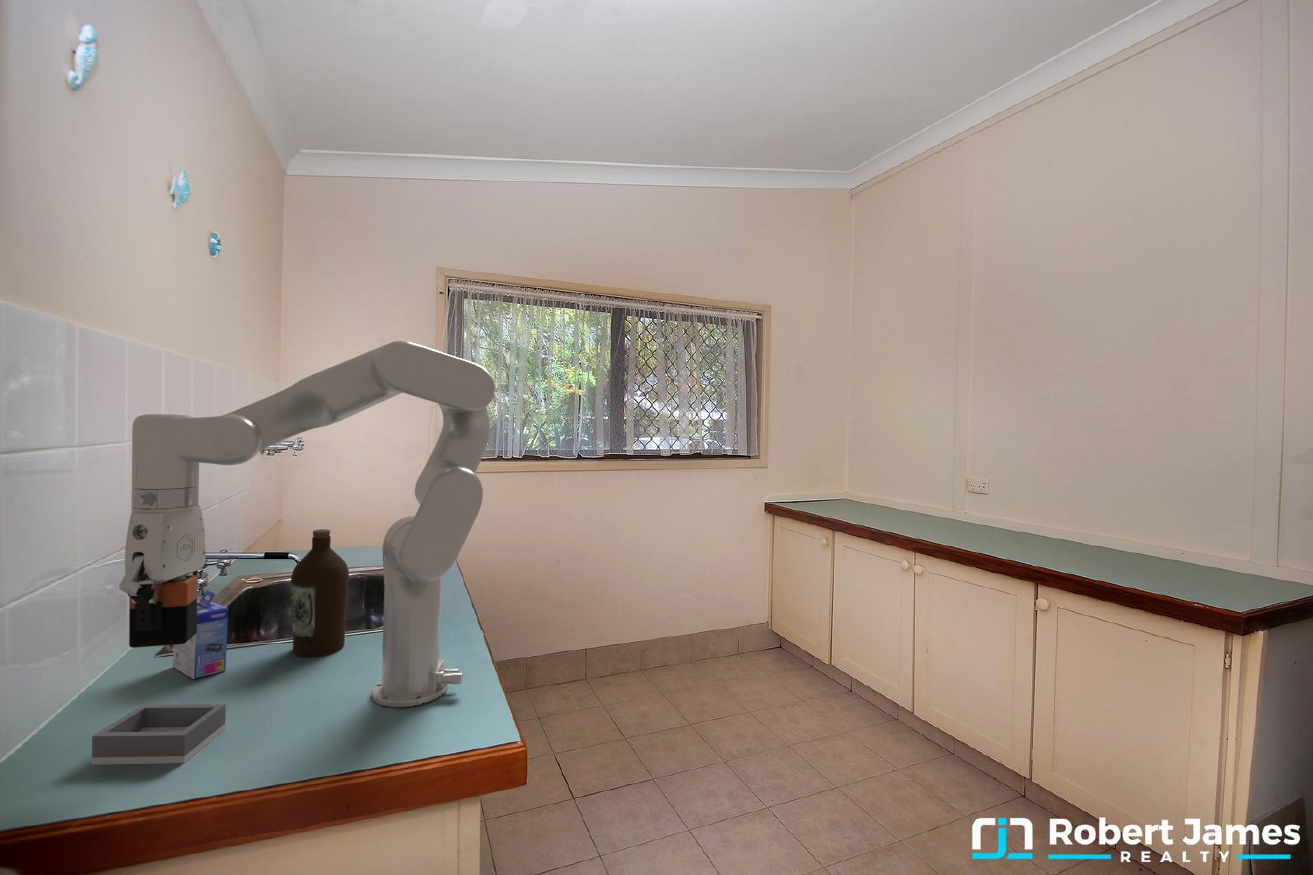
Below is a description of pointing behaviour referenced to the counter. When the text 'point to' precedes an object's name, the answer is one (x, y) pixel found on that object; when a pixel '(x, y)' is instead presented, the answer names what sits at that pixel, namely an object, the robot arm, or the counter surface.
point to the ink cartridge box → (204, 642)
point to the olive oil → (319, 599)
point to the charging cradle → (159, 734)
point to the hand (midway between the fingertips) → (164, 621)
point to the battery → (170, 615)
